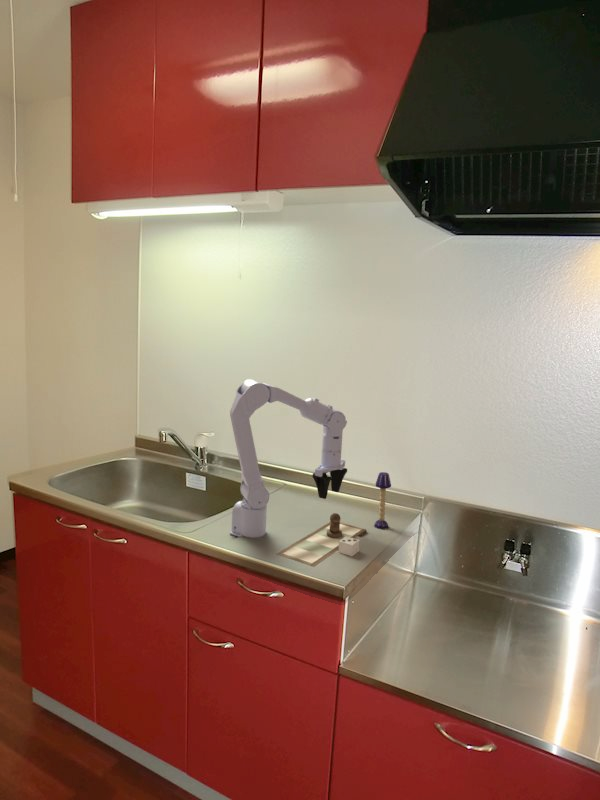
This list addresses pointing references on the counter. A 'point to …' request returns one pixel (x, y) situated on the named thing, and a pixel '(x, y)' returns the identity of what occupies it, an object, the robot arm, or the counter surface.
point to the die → (348, 546)
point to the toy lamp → (382, 498)
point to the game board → (319, 544)
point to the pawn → (334, 526)
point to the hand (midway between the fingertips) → (329, 494)
